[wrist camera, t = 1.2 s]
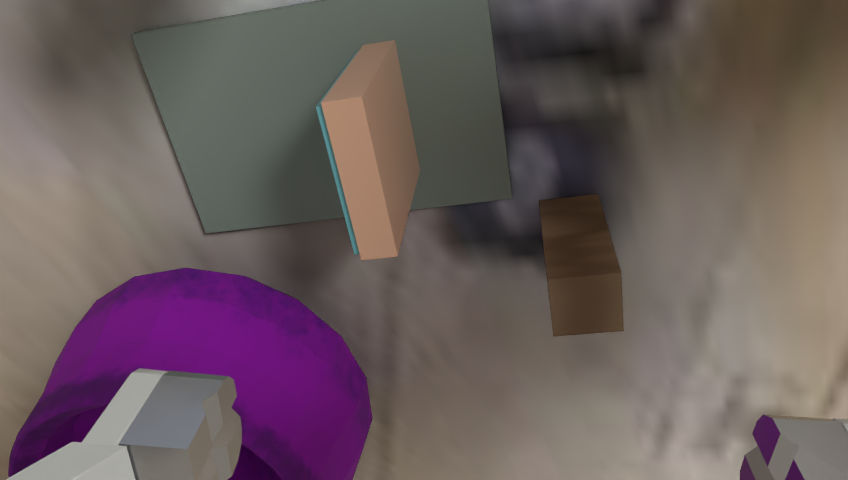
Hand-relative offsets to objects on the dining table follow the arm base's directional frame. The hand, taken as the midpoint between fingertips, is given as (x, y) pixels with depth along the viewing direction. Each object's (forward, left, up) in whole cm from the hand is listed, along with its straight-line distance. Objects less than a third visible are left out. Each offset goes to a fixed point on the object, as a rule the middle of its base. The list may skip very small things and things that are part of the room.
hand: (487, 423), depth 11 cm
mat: (+9, +3, -26) cm, 28 cm away
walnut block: (-3, +11, -26) cm, 28 cm away
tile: (+6, +3, -25) cm, 26 cm away
